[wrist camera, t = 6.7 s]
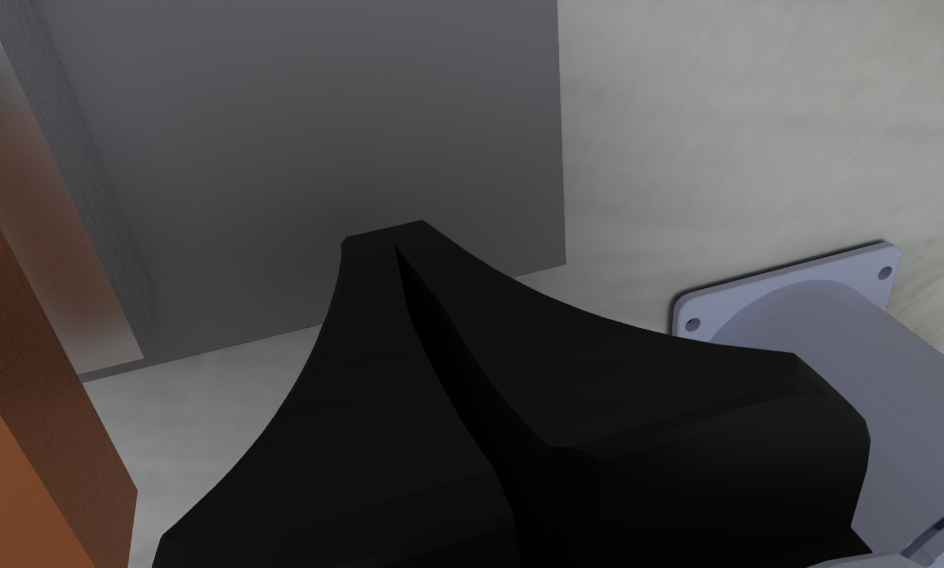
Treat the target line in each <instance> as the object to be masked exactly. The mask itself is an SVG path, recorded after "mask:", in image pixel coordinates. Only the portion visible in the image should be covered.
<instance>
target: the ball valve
mask: <svg viewBox="0 0 944 568" xmlns="http://www.w3.org/2000/svg"><path fill="white" fill-rule="evenodd" d="M0 228H1V230H2V232H3V234H4V236H5V237H6V239H7V241H8V243H9V245H10V247H11V249H12V251H13V253H14V255H15V257H16V258H17V260H18V262H19V264H20V266H21V268H22V270H23V272H24V274H25V276H26V278H27V280H28V281H29V283H30V285H31V287H32V289H33V291H34V293H35V295H36V297H37V299H38V301H39V303H40V304H41V306H42V308H43V310H44V312H45V314H46V316H47V318H48V320H49V322H50V324H51V326H52V327H53V329H54V331H55V333H56V335H57V337H58V339H59V341H60V343H61V345H62V347H63V349H64V350H65V352H66V354H67V356H68V358H69V360H70V362H71V364H72V366H73V368H74V370H75V372H76V373H77V375H78V374H82V373H86V372H90V371H95V370H99V369H103V368H107V367H111V366H115V365H119V364H123V363H127V362H132V361H136V360H140V359H144V357H145V351H146V344H147V338H148V331H149V325H150V318H151V311H152V305H153V298H154V292H155V287H154V285H153V283H152V280H151V278H150V275H149V273H148V270H147V268H146V266H145V263H144V261H143V258H142V256H141V254H140V251H139V249H138V246H137V244H136V242H135V239H134V237H133V234H132V232H131V229H130V227H129V225H128V222H127V220H126V217H125V215H124V213H123V210H122V208H121V205H120V203H119V201H118V198H117V196H116V193H115V191H114V188H113V186H112V184H111V181H110V179H109V176H108V174H107V172H106V169H105V167H104V164H103V162H102V160H101V157H100V155H99V152H98V150H97V147H96V145H95V143H94V140H93V138H92V135H91V133H90V131H89V128H88V126H87V123H86V121H85V119H84V116H83V114H82V111H81V109H80V106H79V104H78V102H77V99H76V97H75V94H74V92H73V90H72V87H71V85H70V82H69V80H68V77H67V75H66V73H65V70H64V68H63V65H62V63H61V61H60V58H59V56H58V53H57V51H56V49H55V46H54V44H53V41H52V39H51V36H50V34H49V32H48V29H47V27H46V24H45V22H44V20H43V17H42V15H41V12H40V10H39V8H38V5H37V3H36V0H0Z"/></svg>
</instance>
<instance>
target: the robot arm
mask: <svg viewBox="0 0 944 568" xmlns="http://www.w3.org/2000/svg"><path fill="white" fill-rule="evenodd" d="M340 246H341V261H340V268H339V273H338V278H337V282H336V286H335V289H334V293H333V296H332V300H331V303H330V307H329V310H328V313H327V315H326V318H325V320H324V323H323V325H322V328H321V331H320V333H319V336H318V338H317V341H316V343H315V345H314V348H313V350H312V352H311V354H310V356H309V358H308V360H307V362H306V364H305V366H304V368H303V370H302V372H301V373H300V375H299V377H298V379H297V381H296V382H295V384H294V386H293V388H292V389H291V391H290V392H289V394H288V395H287V397H286V399H285V400H284V402H283V403H282V405H281V406H280V408H279V409H278V411H277V413H276V414H275V416H274V417H273V418H272V420H271V421H270V423H269V424H268V425H267V427H266V428H265V430H264V431H263V432H262V434H261V435H260V436H259V437H258V439H257V440H256V441H255V442H254V443H253V445H252V446H251V447H250V448H249V449H248V451H247V452H246V453H245V454H244V455H243V457H242V458H241V459H240V460H239V461H238V462H237V464H236V465H235V466H234V467H233V468H232V469H231V470H230V471H229V472H228V473H227V474H226V475H225V477H224V478H223V479H222V480H221V481H220V482H219V483H218V484H217V485H216V486H215V487H214V488H213V489H212V490H211V491H209V492H208V493H207V494H206V495H205V496H204V497H203V498H202V499H201V500H200V501H199V502H198V503H197V504H196V505H195V506H194V507H193V508H192V509H190V510H189V511H188V512H187V513H186V514H185V515H184V516H183V517H182V518H181V519H180V520H179V521H178V522H177V523H176V524H175V525H173V526H172V527H171V528H170V529H169V530H168V531H167V532H165V533H164V534H163V535H162V537H161V538H160V542H159V545H158V548H157V551H156V555H155V558H154V561H153V565H152V568H944V355H943V354H942V353H940V352H939V351H938V350H936V349H935V348H933V347H932V346H931V345H929V344H928V343H927V342H925V341H924V340H923V339H921V338H920V337H919V336H917V335H916V334H915V333H913V332H912V331H910V330H909V329H908V328H906V327H905V326H904V325H902V324H901V323H900V322H898V321H897V320H896V319H894V318H893V317H891V316H890V315H889V314H887V313H886V308H887V304H888V301H889V297H890V293H891V289H892V286H893V282H894V278H895V274H896V271H897V267H898V263H899V260H900V253H901V251H900V249H899V248H898V247H897V246H895V245H894V244H892V243H890V242H882V243H878V244H875V245H871V246H867V247H863V248H859V249H855V250H852V251H848V252H844V253H840V254H836V255H832V256H829V257H825V258H821V259H817V260H813V261H809V262H806V263H802V264H798V265H794V266H790V267H786V268H783V269H779V270H775V271H771V272H767V273H763V274H760V275H756V276H752V277H748V278H744V279H740V280H737V281H733V282H729V283H725V284H721V285H717V286H714V287H710V288H706V289H702V290H698V291H694V292H691V293H688V294H685V295H683V296H682V297H681V298H680V299H679V300H678V301H677V303H676V304H675V307H674V313H673V327H672V335H667V334H663V333H659V332H655V331H650V330H646V329H642V328H638V327H635V326H631V325H628V324H625V323H621V322H618V321H614V320H611V319H607V318H604V317H601V316H598V315H595V314H592V313H589V312H586V311H584V310H581V309H578V308H576V307H573V306H571V305H568V304H566V303H563V302H561V301H558V300H556V299H554V298H551V297H549V296H546V295H544V294H542V293H540V292H538V291H536V290H534V289H532V288H530V287H528V286H526V285H524V284H522V283H520V282H518V281H516V280H514V279H512V278H510V277H509V276H507V275H505V274H503V273H501V272H500V271H498V270H496V269H494V268H493V267H491V266H490V265H488V264H486V263H485V262H483V261H482V260H480V259H478V258H477V257H475V256H474V255H472V254H471V253H469V252H468V251H466V250H465V249H464V248H462V247H461V246H459V245H458V244H456V243H455V242H453V241H452V240H451V239H449V238H448V237H446V236H445V235H444V234H442V233H441V232H440V231H438V230H437V229H435V228H434V227H433V226H431V225H430V224H428V223H427V222H425V221H424V220H419V221H414V222H410V223H405V224H401V225H397V226H392V227H388V228H383V229H379V230H375V231H370V232H366V233H361V234H357V235H353V236H348V237H346V238H345V239H344V241H343V242H342V244H341V245H340ZM691 319H693V320H692V321H691V322H690V323H688V324H686V323H687V322H688V321H689V320H691Z"/></svg>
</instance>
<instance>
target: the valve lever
mask: <svg viewBox="0 0 944 568" xmlns="http://www.w3.org/2000/svg"><path fill="white" fill-rule="evenodd" d="M137 493H138V490H137V488H136V487H135V485H134V483H133V481H132V479H131V477H130V475H129V473H128V471H127V469H126V467H125V465H124V464H123V462H122V460H121V458H120V456H119V454H118V452H117V450H116V448H115V446H114V444H113V442H112V441H111V439H110V437H109V435H108V433H107V431H106V429H105V427H104V425H103V423H102V421H101V419H100V418H99V416H98V414H97V412H96V410H95V408H94V406H93V404H92V402H91V400H90V398H89V396H88V395H87V393H86V391H85V389H84V387H83V385H82V383H81V381H80V379H79V377H78V375H77V373H76V372H75V370H74V368H73V366H72V364H71V362H70V360H69V358H68V356H67V354H66V352H65V350H64V349H63V347H62V345H61V343H60V341H59V339H58V337H57V335H56V333H55V331H54V329H53V327H52V326H51V324H50V322H49V320H48V318H47V316H46V314H45V312H44V310H43V308H42V306H41V304H40V303H39V301H38V299H37V297H36V295H35V293H34V291H33V289H32V287H31V285H30V283H29V281H28V280H27V278H26V276H25V274H24V272H23V270H22V268H21V266H20V264H19V262H18V260H17V258H16V257H15V255H14V253H13V251H12V249H11V247H10V245H9V243H8V241H7V239H6V237H5V236H4V234H3V232H2V230H1V228H0V568H128V561H129V553H130V546H131V538H132V530H133V523H134V515H135V508H136V500H137Z"/></svg>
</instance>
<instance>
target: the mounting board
mask: <svg viewBox="0 0 944 568" xmlns="http://www.w3.org/2000/svg"><path fill="white" fill-rule="evenodd" d="M36 3H37V5H38V8H39V10H40V12H41V15H42V17H43V20H44V22H45V24H46V27H47V29H48V32H49V34H50V36H51V39H52V41H53V44H54V46H55V49H56V51H57V53H58V56H59V58H60V61H61V63H62V65H63V68H64V70H65V73H66V75H67V77H68V80H69V82H70V85H71V87H72V90H73V92H74V94H75V97H76V99H77V102H78V104H79V106H80V109H81V111H82V114H83V116H84V119H85V121H86V123H87V126H88V128H89V131H90V133H91V135H92V138H93V140H94V143H95V145H96V147H97V150H98V152H99V155H100V157H101V160H102V162H103V164H104V167H105V169H106V172H107V174H108V176H109V179H110V181H111V184H112V186H113V188H114V191H115V193H116V196H117V198H118V201H119V203H120V205H121V208H122V210H123V213H124V215H125V217H126V220H127V222H128V225H129V227H130V229H131V232H132V234H133V237H134V239H135V242H136V244H137V246H138V249H139V251H140V254H141V256H142V258H143V261H144V263H145V266H146V268H147V270H148V273H149V275H150V278H151V280H152V283H153V285H154V287H155V292H154V298H153V305H152V311H151V318H150V325H149V331H148V338H147V344H146V351H145V357H144V359H140V360H136V361H132V362H127V363H123V364H119V365H115V366H111V367H107V368H103V369H99V370H95V371H90V372H86V373H82V374H78V377H79V379H80V381H81V383H84V382H88V381H92V380H96V379H100V378H104V377H108V376H112V375H116V374H120V373H124V372H128V371H132V370H137V369H141V368H145V367H149V366H153V365H157V364H161V363H165V362H169V361H173V360H177V359H181V358H186V357H190V356H194V355H198V354H202V353H206V352H210V351H214V350H218V349H222V348H226V347H230V346H234V345H239V344H243V343H247V342H251V341H255V340H259V339H263V338H267V337H271V336H275V335H279V334H283V333H288V332H292V331H296V330H300V329H304V328H308V327H312V326H316V325H320V324H323V323H324V320H325V318H326V315H327V313H328V310H329V307H330V303H331V300H332V296H333V293H334V289H335V286H336V282H337V278H338V273H339V268H340V261H341V246H340V245H341V244H342V242H343V241H344V239H345V238H346V237H348V236H353V235H357V234H361V233H366V232H370V231H375V230H379V229H383V228H388V227H392V226H397V225H401V224H405V223H410V222H414V221H419V220H424V221H425V222H427V223H428V224H430V225H431V226H433V227H434V228H435V229H437V230H438V231H440V232H441V233H442V234H444V235H445V236H446V237H448V238H449V239H451V240H452V241H453V242H455V243H456V244H458V245H459V246H461V247H462V248H464V249H465V250H466V251H468V252H469V253H471V254H472V255H474V256H475V257H477V258H478V259H480V260H482V261H483V262H485V263H486V264H488V265H490V266H491V267H493V268H494V269H496V270H498V271H500V272H501V273H503V274H505V275H507V276H509V277H510V278H512V277H516V276H520V275H524V274H528V273H532V272H536V271H540V270H545V269H549V268H553V267H557V266H561V265H565V264H566V257H565V227H564V197H563V167H562V137H561V107H560V77H559V46H558V16H557V0H36Z"/></svg>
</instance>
